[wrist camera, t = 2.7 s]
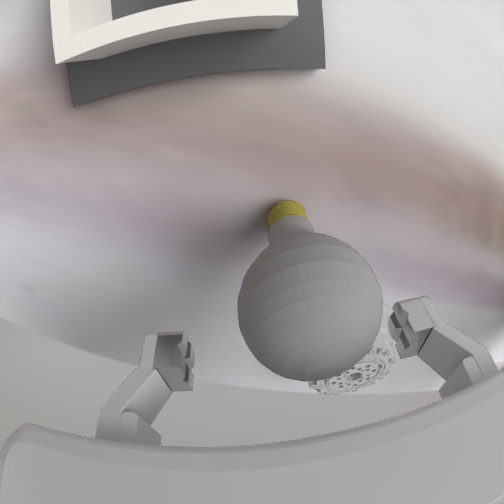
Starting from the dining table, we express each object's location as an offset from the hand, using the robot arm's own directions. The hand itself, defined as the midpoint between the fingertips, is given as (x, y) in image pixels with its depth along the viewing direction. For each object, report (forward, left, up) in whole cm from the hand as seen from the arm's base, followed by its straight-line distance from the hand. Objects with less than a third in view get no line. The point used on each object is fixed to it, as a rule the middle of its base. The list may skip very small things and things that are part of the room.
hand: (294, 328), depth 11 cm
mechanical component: (-6, +13, -8) cm, 16 cm away
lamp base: (+3, -15, -8) cm, 17 cm away
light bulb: (-1, -1, -8) cm, 8 cm away
